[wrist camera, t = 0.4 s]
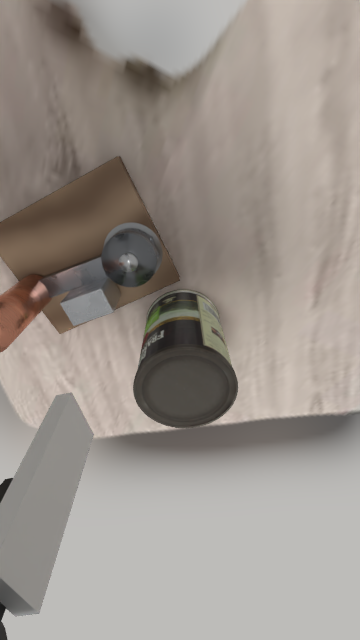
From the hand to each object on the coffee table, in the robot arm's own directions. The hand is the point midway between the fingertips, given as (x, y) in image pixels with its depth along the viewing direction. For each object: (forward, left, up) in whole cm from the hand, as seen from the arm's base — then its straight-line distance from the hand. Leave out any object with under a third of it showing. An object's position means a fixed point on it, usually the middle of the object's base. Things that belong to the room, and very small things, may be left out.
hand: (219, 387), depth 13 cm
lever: (-2, -13, -24) cm, 28 cm away
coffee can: (+10, -6, -27) cm, 29 cm away
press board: (-4, -12, -26) cm, 29 cm away
